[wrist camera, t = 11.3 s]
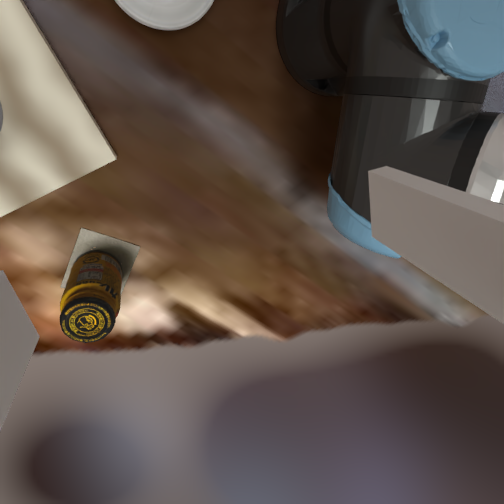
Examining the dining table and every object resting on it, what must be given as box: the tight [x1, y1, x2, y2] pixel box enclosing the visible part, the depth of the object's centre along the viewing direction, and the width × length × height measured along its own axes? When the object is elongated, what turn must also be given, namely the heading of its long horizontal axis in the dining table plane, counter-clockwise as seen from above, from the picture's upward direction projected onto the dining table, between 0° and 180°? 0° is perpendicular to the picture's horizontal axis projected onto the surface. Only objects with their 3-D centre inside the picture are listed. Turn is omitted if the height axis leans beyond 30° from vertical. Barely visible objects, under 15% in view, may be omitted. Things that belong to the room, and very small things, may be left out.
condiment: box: [60, 228, 140, 343], centre depth 43 cm, size 7×8×12 cm
